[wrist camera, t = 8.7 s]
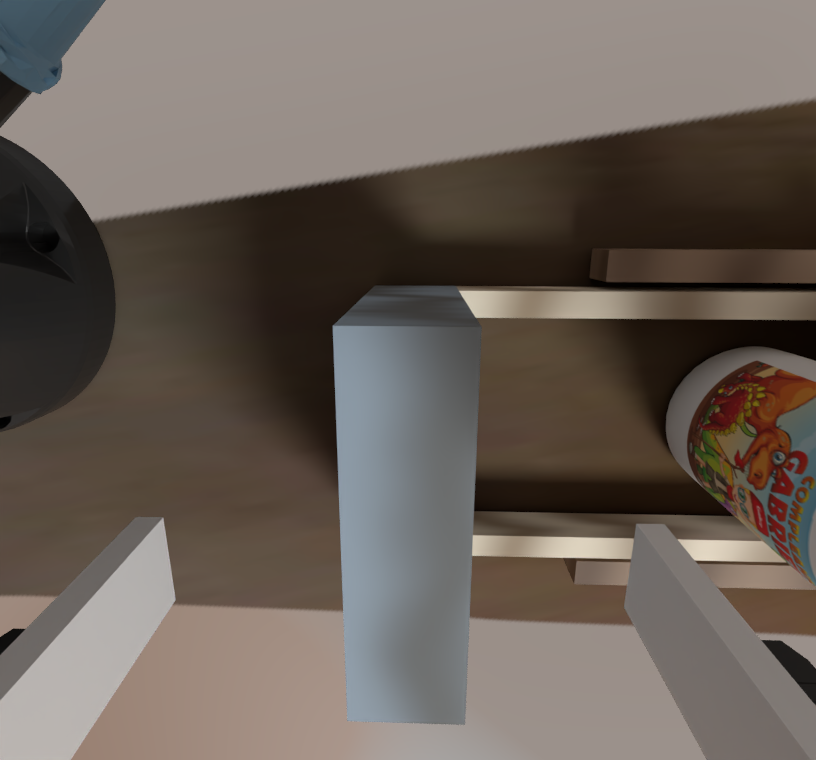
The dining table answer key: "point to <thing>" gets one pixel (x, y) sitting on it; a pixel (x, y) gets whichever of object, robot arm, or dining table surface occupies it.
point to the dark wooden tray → (702, 270)
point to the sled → (468, 477)
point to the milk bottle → (754, 444)
